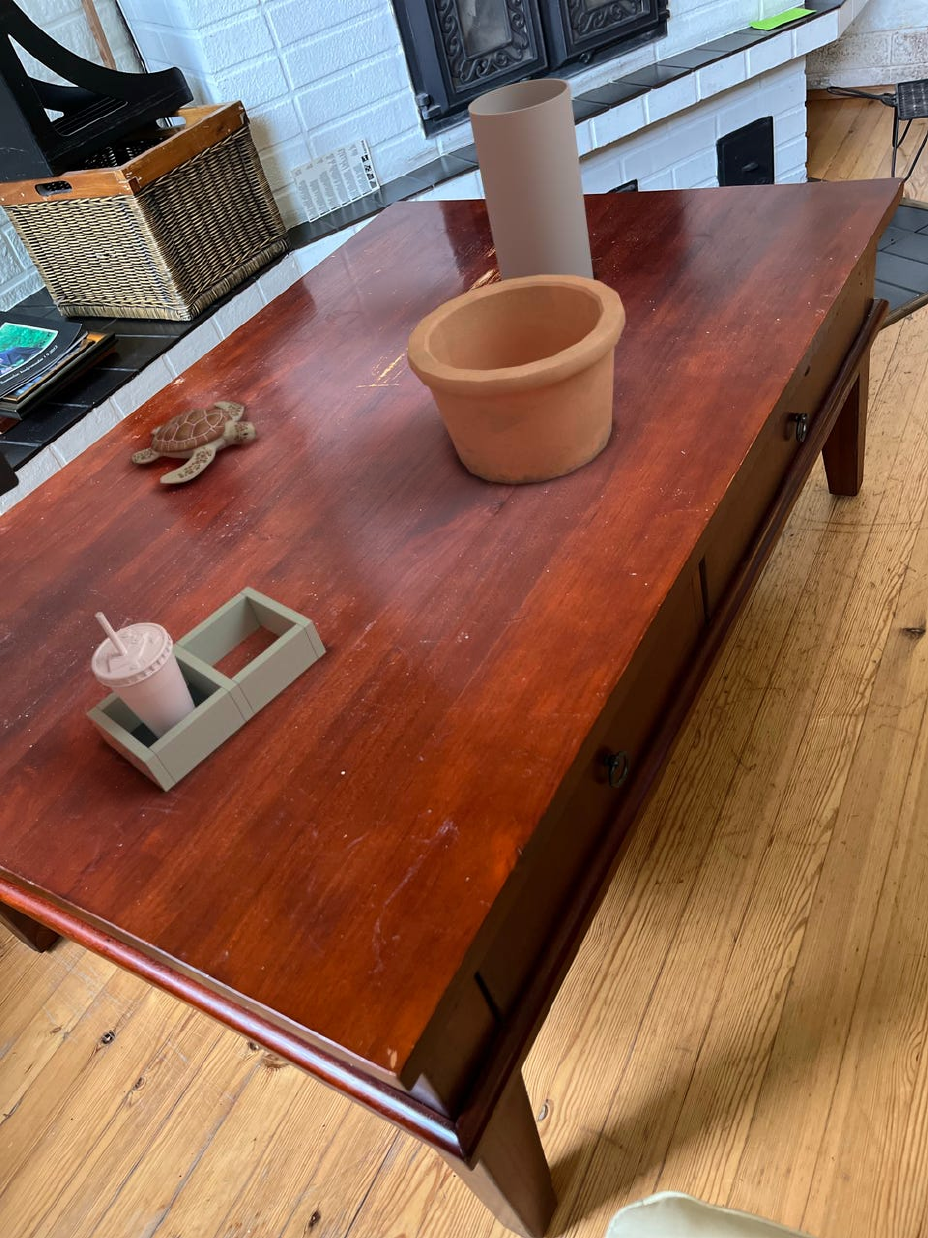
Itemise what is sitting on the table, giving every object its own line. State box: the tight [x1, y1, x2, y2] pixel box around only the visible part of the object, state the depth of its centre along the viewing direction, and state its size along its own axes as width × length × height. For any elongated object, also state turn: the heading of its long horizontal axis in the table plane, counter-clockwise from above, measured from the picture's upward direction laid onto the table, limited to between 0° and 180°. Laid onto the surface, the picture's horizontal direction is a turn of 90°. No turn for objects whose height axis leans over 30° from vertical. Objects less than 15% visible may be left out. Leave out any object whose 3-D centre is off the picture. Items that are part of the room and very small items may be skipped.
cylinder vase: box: [467, 78, 594, 281], centre depth 119 cm, size 12×12×25 cm
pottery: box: [406, 275, 627, 485], centre depth 95 cm, size 22×22×14 cm
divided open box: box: [85, 586, 327, 793], centre depth 79 cm, size 18×10×5 cm, turn 138°
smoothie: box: [90, 611, 196, 739], centre depth 74 cm, size 6×6×14 cm
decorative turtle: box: [131, 401, 258, 485], centre depth 114 cm, size 18×17×5 cm
